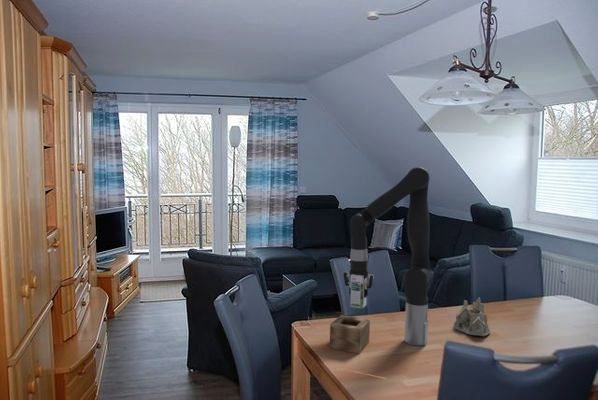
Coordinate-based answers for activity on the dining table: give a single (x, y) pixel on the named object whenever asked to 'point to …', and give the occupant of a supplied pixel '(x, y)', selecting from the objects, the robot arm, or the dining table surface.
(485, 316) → the ceramic cottage
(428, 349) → the dining table surface
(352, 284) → the syrup box
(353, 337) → the box
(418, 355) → the dining table surface
